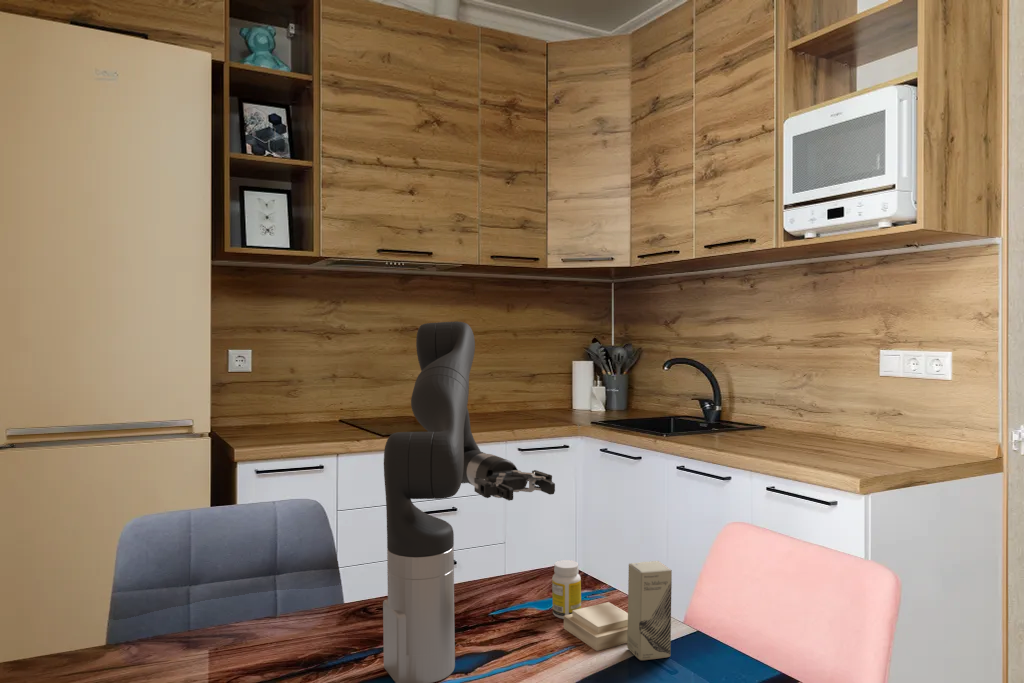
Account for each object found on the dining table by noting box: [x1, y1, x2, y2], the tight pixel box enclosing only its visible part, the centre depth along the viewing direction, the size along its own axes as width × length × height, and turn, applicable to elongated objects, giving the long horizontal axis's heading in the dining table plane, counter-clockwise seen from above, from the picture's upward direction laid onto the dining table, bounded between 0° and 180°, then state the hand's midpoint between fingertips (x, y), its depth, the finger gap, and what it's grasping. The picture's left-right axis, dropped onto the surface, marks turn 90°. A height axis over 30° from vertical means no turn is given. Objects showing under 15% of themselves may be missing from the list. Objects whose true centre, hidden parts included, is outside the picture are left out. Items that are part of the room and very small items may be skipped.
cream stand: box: [563, 601, 628, 652], centre depth 110 cm, size 9×9×3 cm
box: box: [626, 560, 673, 661], centre depth 104 cm, size 5×4×13 cm
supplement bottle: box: [551, 559, 582, 620], centre depth 118 cm, size 5×5×8 cm
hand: (532, 491), depth 127 cm, fingers open, 8 cm apart
